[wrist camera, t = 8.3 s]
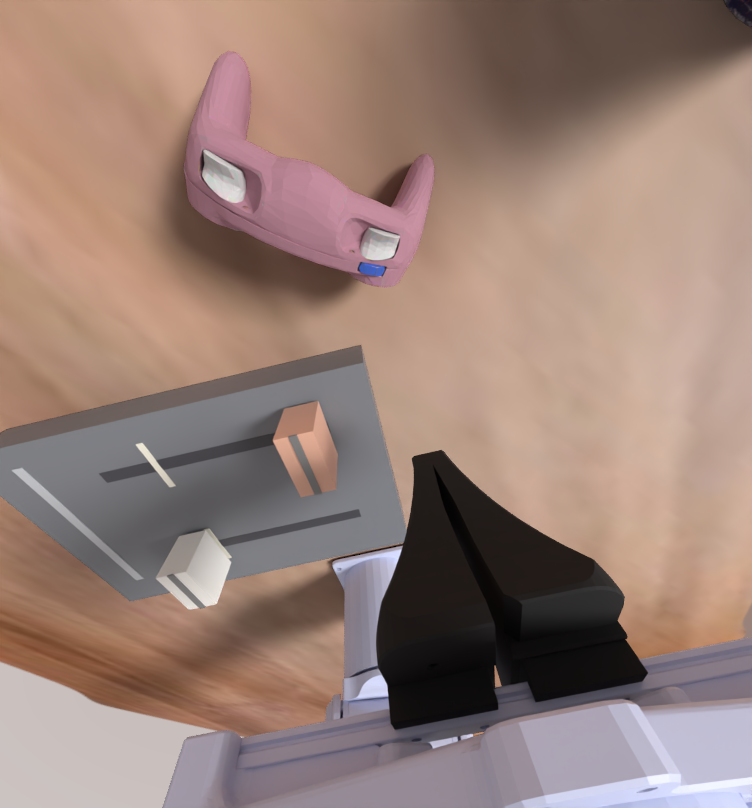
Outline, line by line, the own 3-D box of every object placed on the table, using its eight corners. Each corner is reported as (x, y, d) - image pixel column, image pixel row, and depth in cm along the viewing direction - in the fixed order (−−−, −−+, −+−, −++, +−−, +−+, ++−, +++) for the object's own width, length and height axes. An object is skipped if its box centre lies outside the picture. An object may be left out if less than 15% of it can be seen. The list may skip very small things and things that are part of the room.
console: (402, 511, 27) (409, 541, 24) (150, 566, 27) (129, 602, 25) (361, 344, 19) (363, 362, 16) (7, 429, 19) (-47, 459, 17)
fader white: (231, 562, 23) (216, 605, 20) (206, 567, 23) (188, 611, 20) (205, 530, 21) (185, 572, 18) (178, 535, 21) (154, 579, 18)
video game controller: (228, 169, 15) (159, 235, 11) (223, 37, 12) (120, 63, 8) (402, 245, 18) (399, 322, 14) (443, 155, 14) (454, 223, 10)
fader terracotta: (337, 454, 19) (336, 490, 16) (307, 461, 19) (300, 498, 16) (318, 400, 17) (312, 431, 14) (284, 408, 17) (272, 440, 14)
